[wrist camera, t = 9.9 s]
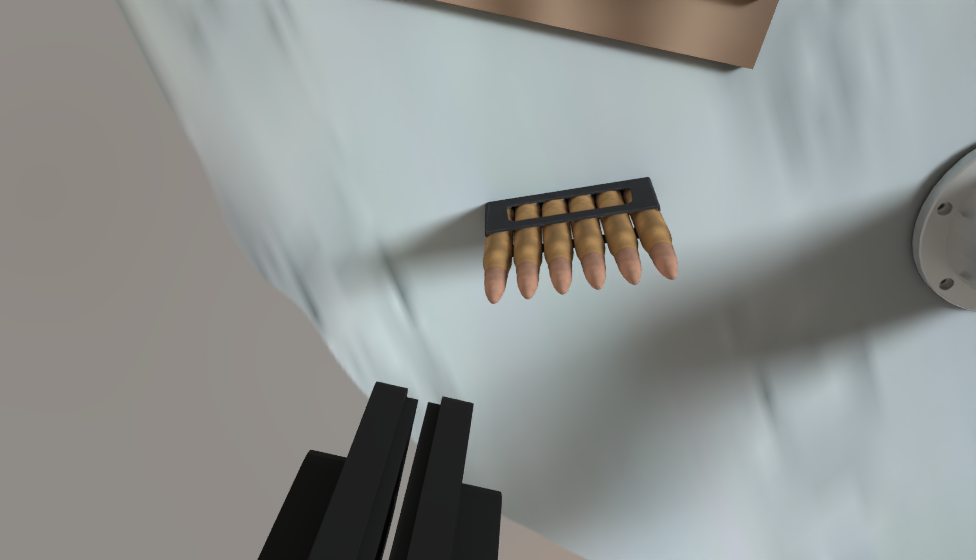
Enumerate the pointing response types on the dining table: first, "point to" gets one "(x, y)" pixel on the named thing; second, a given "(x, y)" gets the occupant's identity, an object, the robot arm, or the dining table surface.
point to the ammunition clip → (575, 236)
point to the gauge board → (655, 23)
